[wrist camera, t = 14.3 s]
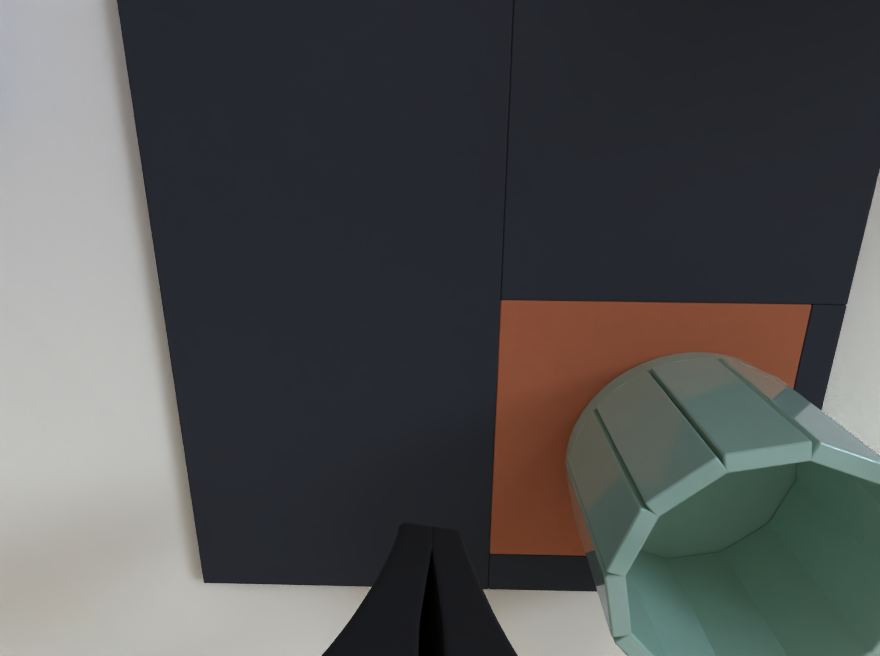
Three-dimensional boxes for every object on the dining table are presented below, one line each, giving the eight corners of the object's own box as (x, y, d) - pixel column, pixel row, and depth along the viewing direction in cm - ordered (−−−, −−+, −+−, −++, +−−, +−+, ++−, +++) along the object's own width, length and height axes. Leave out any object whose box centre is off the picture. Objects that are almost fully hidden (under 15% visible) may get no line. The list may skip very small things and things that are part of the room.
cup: (578, 569, 20) (622, 722, 15) (551, 373, 18) (591, 474, 13) (800, 538, 20) (926, 687, 14) (802, 332, 17) (954, 420, 12)
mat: (208, 575, 21) (203, 583, 21) (83, -284, 13) (71, -296, 13) (771, 587, 21) (777, 596, 20) (977, -286, 13) (992, -298, 13)
